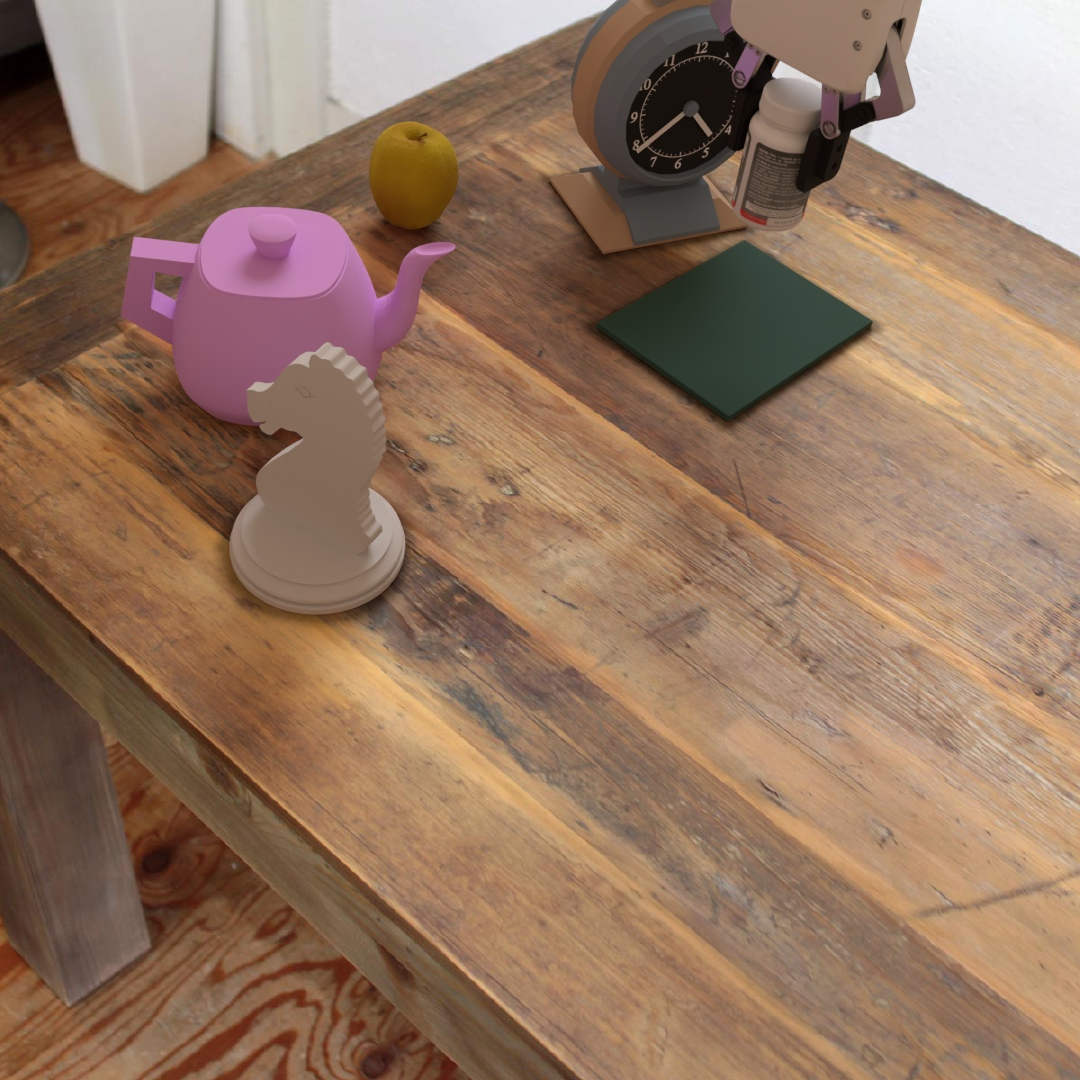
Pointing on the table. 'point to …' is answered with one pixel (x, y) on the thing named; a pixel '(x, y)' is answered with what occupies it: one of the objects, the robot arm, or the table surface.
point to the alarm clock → (651, 125)
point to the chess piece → (319, 492)
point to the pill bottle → (776, 155)
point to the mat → (734, 328)
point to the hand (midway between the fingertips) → (780, 160)
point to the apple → (412, 174)
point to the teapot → (267, 301)
